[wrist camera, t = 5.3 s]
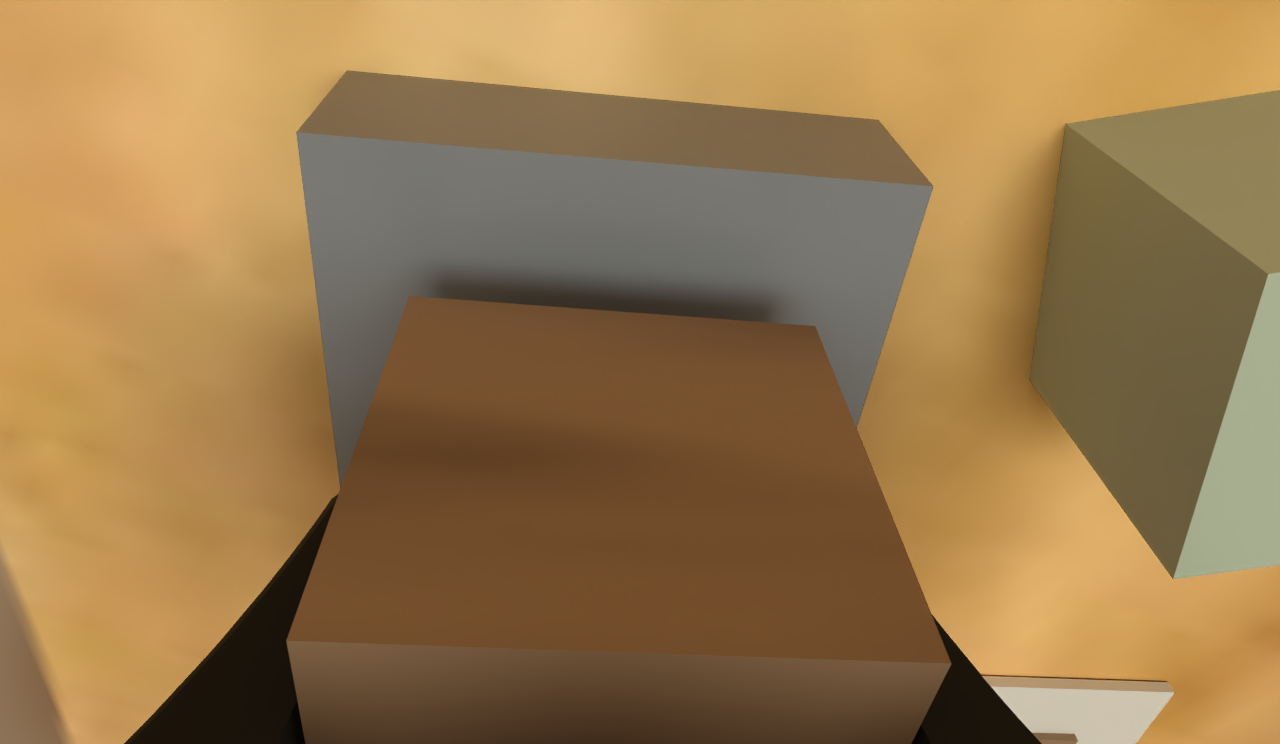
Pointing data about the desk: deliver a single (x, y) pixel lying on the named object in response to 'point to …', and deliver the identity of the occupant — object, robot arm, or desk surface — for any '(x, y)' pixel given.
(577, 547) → the walnut block
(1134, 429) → the sage block
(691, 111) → the slate slab
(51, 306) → the desk surface
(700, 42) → the desk surface
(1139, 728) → the placard
